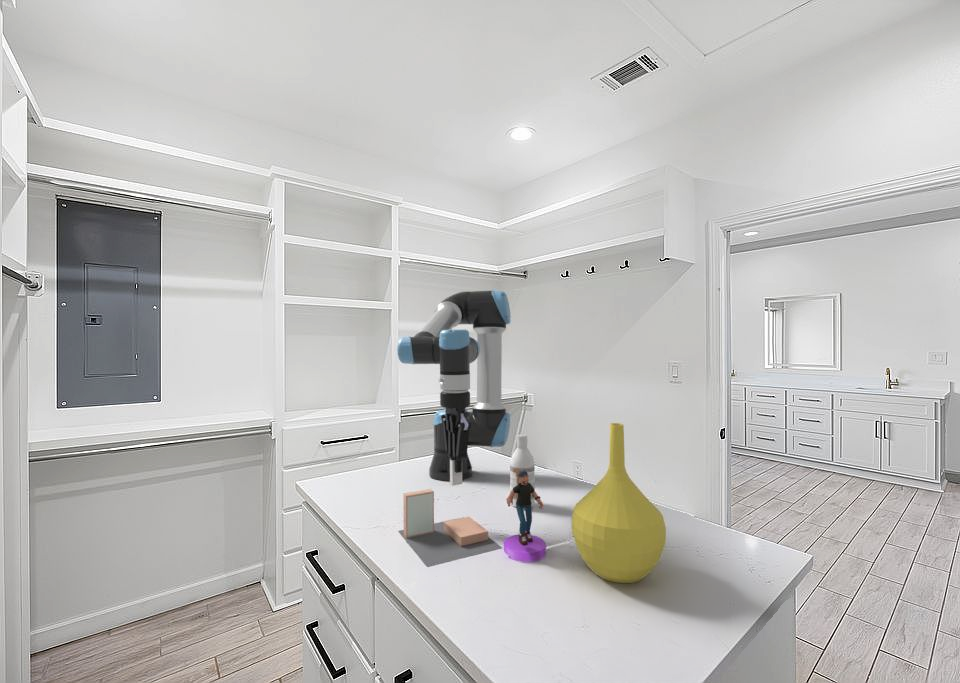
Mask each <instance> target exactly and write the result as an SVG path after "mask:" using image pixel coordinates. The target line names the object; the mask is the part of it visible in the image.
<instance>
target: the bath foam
mask: <svg viewBox="0 0 960 683" xmlns="http://www.w3.org/2000/svg"><path fill="white" fill-rule="evenodd" d="M509 463H510V464H509V465H510V466H509V478H510V479H509V480H510V481H509V483H510V484H509V485H510V486H509V493H510V492H511V491H512V490H513V487H515V486H516V485H518V484H519V483H521V481H520V480H519V477H518V476H517V475H519V473H520V472H521V471H526V472H527V473H528V476H529V477H528V483H531V485H532V486H533V488H534V489H536V486H535V485H536V483H535V482H536V480H535V479H536V478H535V477H536V476H535V471H536V470H535V466H536V464H535V460H534V456H533V455H532V453H531V452H530V450H529V448H528V435H527V434H522V433H521V434H517V435H516V449H515V451H514V452H513V453H512V456H511V457H510V462H509ZM517 498H518V493H516V494H515V495H514V497H513V505H512V504H511V503H510V507H513V508H515V509H517V508H516V501H517ZM535 501H536V500H535V498H534V497H533V495H532V494H531V503H532V504H531V507H532V508H533V507H534V506H535V504H536V503H535ZM523 510H525V508H523Z"/></svg>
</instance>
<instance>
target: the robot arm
mask: <svg viewBox="0 0 960 683" xmlns="http://www.w3.org/2000/svg"><path fill="white" fill-rule="evenodd" d="M511 318H512V317H511V309H510V303H509V298H508V296H507V294H506V292H505V291H503V290H476V291H473V290H472V291H461V292H457V293H454V294H452V295H450V296H448V297H447V298H444V299H443V300H441V302H439V303H438V304H437V306H436V307H435V309H434V314H433V315H432V316H431V317H430V318H429V319H428V320H427V321H426V322H425V324H424V325H423V326H422V327H421V328H420V329H419V330H418V332H416V334H414V336H406V337H405V336H404V337H401V338H400V339H399V340H398V343H397V357H398V360H399V362H400V363H401V364H406V365H408V364H409V365H439V371H440V372H439V378H438V382H439V388H440V391H441V392H440V393H439V400H440V401H439V403H440V404H439V405H440V407H441V408H444V409H440V410H438V411H436V412H435V414H434V419H433V446H434V448H433V450H434V451H433V456H432V459H431V463H430V466H429V470H428V471H429V472H428V473H429V477H430V478H431V479H434V480H438V481H448V482H449V484H450V485H451V486H452V487H454V486H458V485H463V480H465V479H467V478H468V479H469V478H471V477H472V475H473V466H472V464H471V460H470V457H469V454H468V447H488V448H489V447H490V448H499V447H504V446H505V445H506V443H507V442H508V439H509V438H508V437H509V434H510V433H509V432H510V427H511V426H510V425H511V414H510V413H509V412H508V411H507V410H506V409H507V407H506V405H504V404H503V402H502V362H503V361H502V356H503V355H502V350H503V348H502V345H503V344H502V340H503V339H502V334H503V333H504V332H505V331H507V325H510V324H511ZM458 325H472V330H473V331H474V332H475V333H476V335H477V336H476V338H477V339H475V338H474V337H471V336H470V332H469V330H467V329H453V328H456V327H457V326H458ZM475 361H476V403H475V404H474V405H473V406H471V392H470V391H469V390H470V389H471V372H470V369H471V368H470V364H472V363H474V362H475ZM470 406H471V407H472V410H471V411H468V408H469V407H470Z"/></svg>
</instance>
